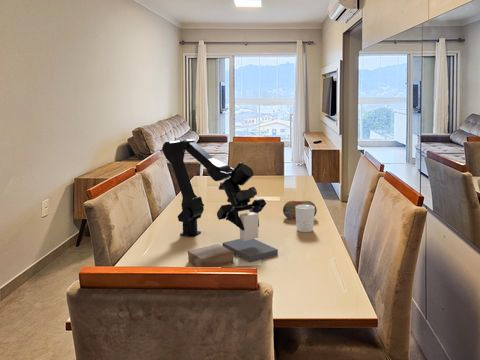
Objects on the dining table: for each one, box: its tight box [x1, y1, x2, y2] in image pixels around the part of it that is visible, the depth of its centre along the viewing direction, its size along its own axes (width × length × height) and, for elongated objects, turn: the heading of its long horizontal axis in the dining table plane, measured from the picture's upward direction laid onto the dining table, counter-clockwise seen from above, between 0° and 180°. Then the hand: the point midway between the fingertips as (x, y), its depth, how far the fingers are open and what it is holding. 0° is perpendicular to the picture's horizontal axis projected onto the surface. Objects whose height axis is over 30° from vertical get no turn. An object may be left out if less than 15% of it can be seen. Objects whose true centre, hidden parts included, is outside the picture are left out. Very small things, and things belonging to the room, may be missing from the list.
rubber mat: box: [222, 238, 279, 263], centre depth 166 cm, size 18×12×2 cm, turn 33°
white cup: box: [295, 205, 315, 233], centre depth 189 cm, size 8×8×10 cm
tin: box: [282, 200, 318, 220], centre depth 206 cm, size 15×3×8 cm, turn 81°
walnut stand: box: [187, 243, 234, 268], centre depth 155 cm, size 10×12×4 cm
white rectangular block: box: [239, 211, 259, 241], centre depth 164 cm, size 3×6×9 cm, turn 123°
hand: (251, 228), depth 163 cm, fingers closed on white rectangular block, 6 cm apart
